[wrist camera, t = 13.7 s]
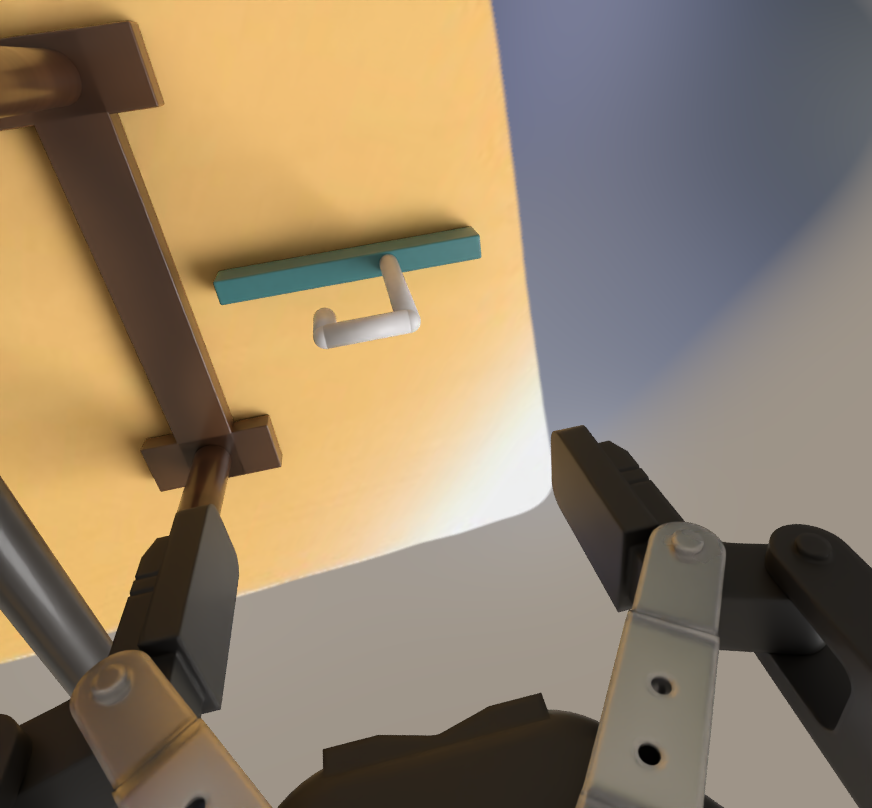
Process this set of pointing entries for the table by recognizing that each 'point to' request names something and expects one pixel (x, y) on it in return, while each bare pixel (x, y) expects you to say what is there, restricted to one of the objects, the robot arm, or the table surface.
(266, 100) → the table surface
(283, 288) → the hanger
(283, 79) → the table surface
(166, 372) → the stand
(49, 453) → the table surface
